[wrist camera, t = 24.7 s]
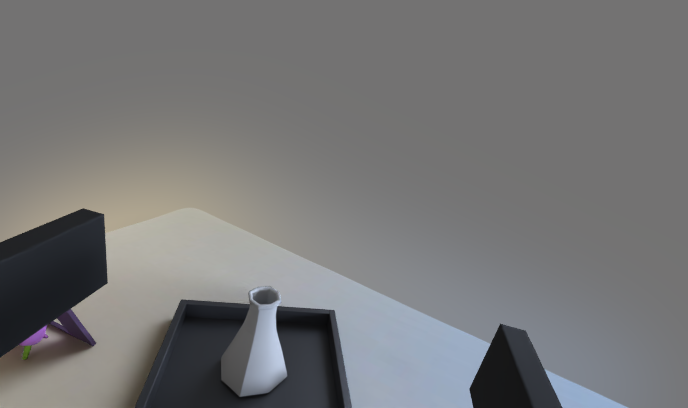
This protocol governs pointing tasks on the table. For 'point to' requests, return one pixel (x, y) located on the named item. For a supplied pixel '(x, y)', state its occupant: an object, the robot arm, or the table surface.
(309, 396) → the foam tray
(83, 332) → the purple ball figure frame
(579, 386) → the table surface
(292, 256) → the table surface
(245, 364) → the flask
